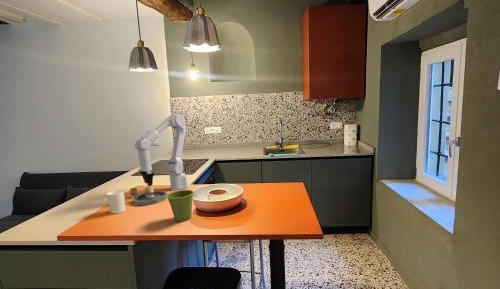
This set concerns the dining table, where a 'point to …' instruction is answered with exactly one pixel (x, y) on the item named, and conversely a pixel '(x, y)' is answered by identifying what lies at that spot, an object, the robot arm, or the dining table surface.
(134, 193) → the bead
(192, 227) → the dining table surface
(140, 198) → the groove dish
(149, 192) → the bead
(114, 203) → the white cup
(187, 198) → the plant pot
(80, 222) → the dining table surface
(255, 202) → the dining table surface
